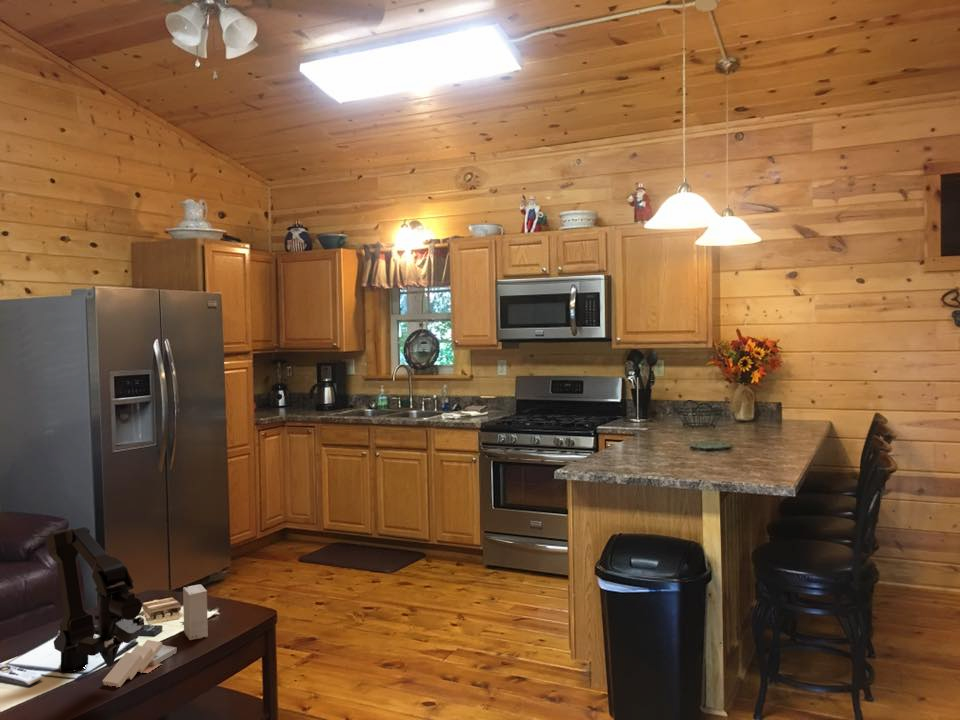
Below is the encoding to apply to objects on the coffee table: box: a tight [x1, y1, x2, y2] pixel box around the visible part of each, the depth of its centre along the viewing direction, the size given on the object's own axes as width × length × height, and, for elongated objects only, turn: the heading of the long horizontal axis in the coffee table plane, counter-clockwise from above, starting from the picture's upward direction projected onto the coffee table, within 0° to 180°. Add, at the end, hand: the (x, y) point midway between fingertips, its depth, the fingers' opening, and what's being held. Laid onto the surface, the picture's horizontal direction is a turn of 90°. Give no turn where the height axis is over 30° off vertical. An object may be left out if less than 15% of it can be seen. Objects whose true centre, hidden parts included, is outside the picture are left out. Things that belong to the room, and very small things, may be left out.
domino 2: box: [126, 644, 153, 680], centre depth 215 cm, size 2×5×10 cm
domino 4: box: [148, 644, 177, 666], centre depth 224 cm, size 2×5×10 cm
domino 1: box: [102, 651, 143, 688], centre depth 211 cm, size 2×5×10 cm
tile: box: [141, 662, 163, 674], centre depth 218 cm, size 9×6×1 cm, turn 74°
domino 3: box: [138, 639, 164, 674], centre depth 219 cm, size 2×5×10 cm
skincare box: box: [182, 584, 209, 641], centre depth 241 cm, size 8×6×15 cm
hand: (110, 666), depth 206 cm, fingers closed
